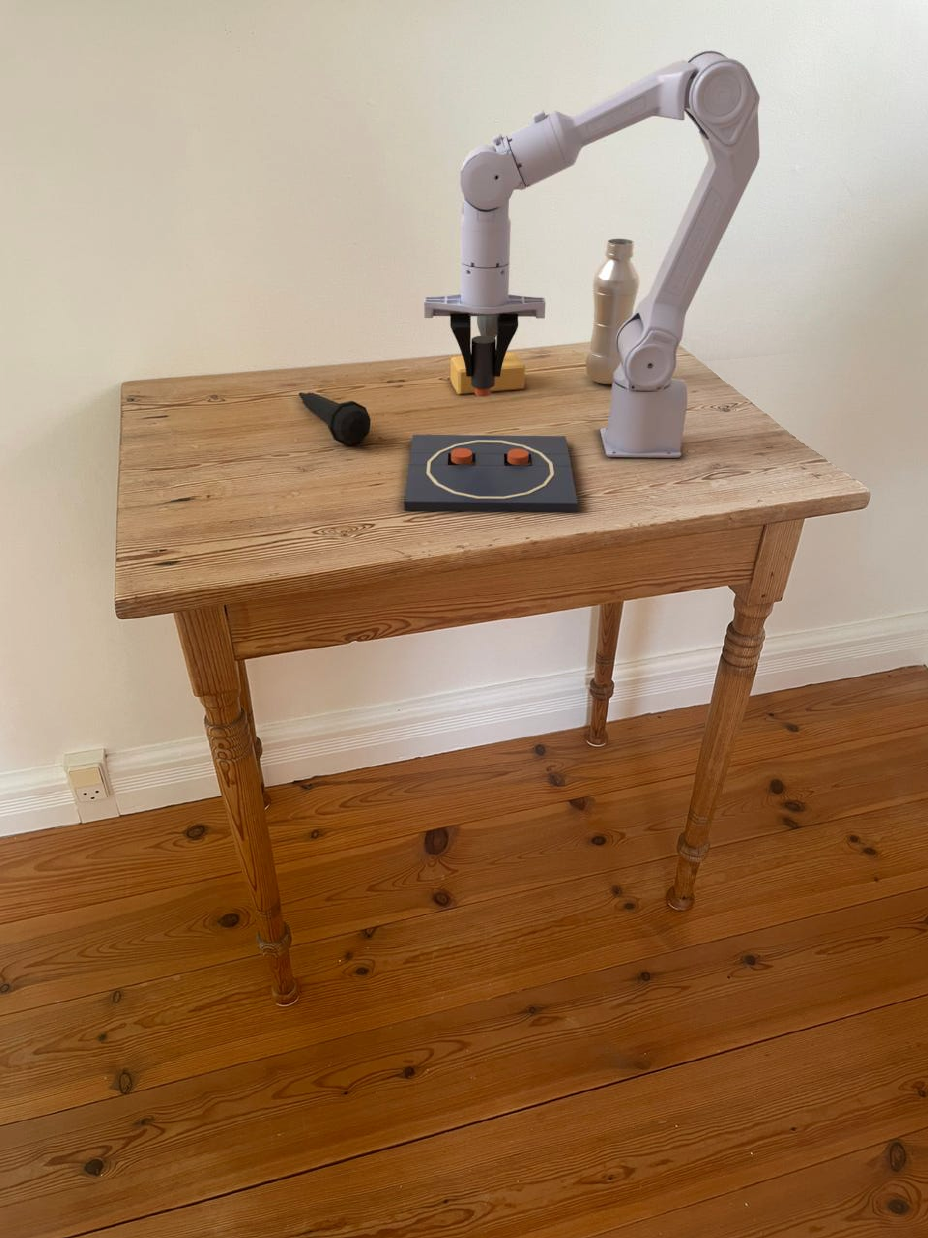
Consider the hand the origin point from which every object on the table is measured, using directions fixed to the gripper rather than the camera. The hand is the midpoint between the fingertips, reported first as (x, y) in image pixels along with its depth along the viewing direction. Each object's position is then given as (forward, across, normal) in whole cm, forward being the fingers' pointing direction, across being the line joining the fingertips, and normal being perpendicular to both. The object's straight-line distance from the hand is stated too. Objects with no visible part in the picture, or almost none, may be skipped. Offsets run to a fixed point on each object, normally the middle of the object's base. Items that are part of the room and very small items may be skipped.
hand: (483, 373), depth 116 cm
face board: (+9, -1, +9) cm, 13 cm away
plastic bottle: (+10, -19, -22) cm, 30 cm away
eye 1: (+9, +3, +7) cm, 12 cm away
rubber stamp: (+10, -1, -20) cm, 22 cm away
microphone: (+10, +20, -6) cm, 23 cm away
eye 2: (+9, -4, +7) cm, 13 cm away
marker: (+3, 0, 0) cm, 3 cm away
